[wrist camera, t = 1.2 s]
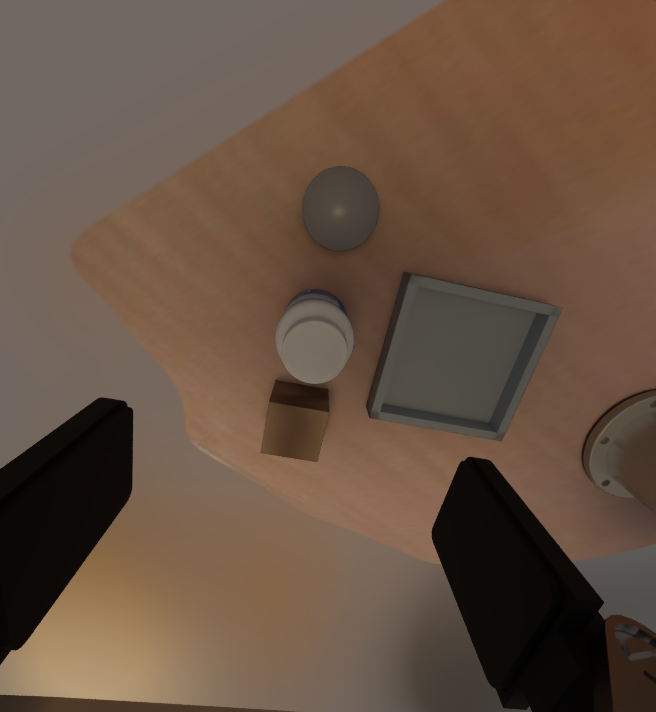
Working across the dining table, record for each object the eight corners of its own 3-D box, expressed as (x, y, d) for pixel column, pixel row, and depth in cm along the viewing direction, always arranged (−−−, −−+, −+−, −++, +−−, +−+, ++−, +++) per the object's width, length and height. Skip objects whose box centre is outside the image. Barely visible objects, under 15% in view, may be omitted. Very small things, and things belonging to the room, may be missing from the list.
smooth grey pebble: (375, 189, 25) (388, 176, 20) (359, 255, 26) (368, 257, 22) (311, 173, 24) (310, 157, 20) (300, 241, 26) (296, 241, 21)
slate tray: (544, 303, 28) (562, 307, 26) (490, 428, 32) (501, 441, 30) (404, 271, 27) (411, 274, 25) (366, 406, 31) (369, 417, 29)
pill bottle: (340, 352, 29) (349, 403, 20) (281, 343, 29) (263, 390, 20) (351, 293, 27) (368, 318, 18) (289, 282, 27) (274, 302, 18)
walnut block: (328, 389, 30) (329, 412, 26) (317, 433, 32) (317, 462, 28) (276, 379, 30) (268, 401, 26) (268, 424, 32) (260, 453, 27)
